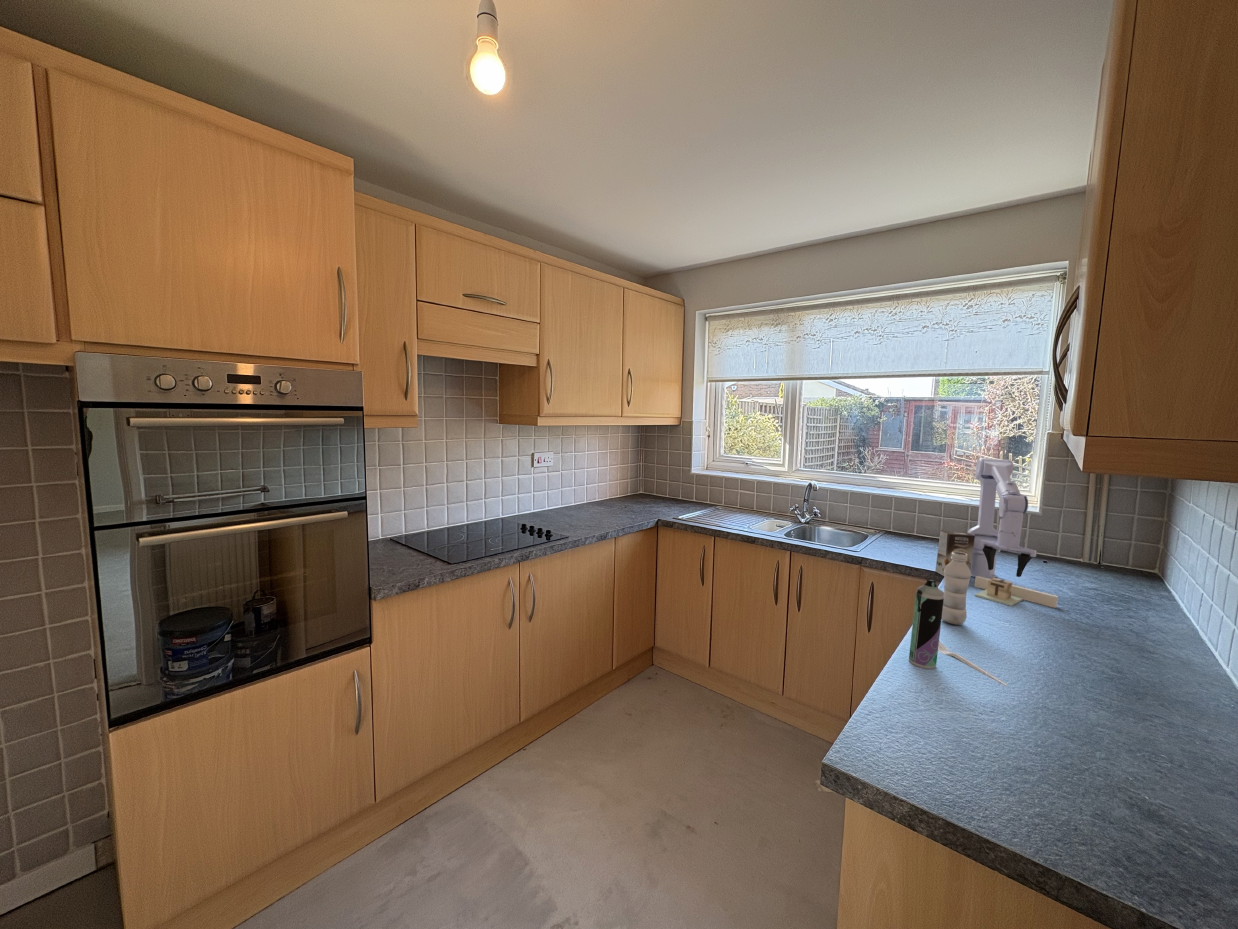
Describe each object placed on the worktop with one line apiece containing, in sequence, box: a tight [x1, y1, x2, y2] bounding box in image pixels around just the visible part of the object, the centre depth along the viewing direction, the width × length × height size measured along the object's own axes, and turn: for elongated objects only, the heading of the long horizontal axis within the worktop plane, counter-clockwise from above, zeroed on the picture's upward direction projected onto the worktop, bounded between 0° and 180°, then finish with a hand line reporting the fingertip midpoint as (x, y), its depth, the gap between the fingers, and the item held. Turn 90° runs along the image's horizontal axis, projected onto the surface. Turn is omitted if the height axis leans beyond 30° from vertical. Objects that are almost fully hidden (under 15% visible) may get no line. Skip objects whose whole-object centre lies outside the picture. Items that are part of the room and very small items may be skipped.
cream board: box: [974, 576, 1059, 609], centre depth 168 cm, size 2×22×4 cm, turn 36°
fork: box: [938, 640, 1009, 687], centre depth 119 cm, size 3×20×2 cm, turn 13°
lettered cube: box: [987, 577, 1014, 600], centre depth 165 cm, size 5×5×5 cm
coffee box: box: [934, 529, 975, 577], centre depth 188 cm, size 9×6×16 cm
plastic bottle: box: [941, 552, 972, 626], centre depth 142 cm, size 6×7×20 cm
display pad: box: [974, 589, 1023, 607], centre depth 165 cm, size 10×10×1 cm
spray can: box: [908, 579, 944, 670], centre depth 117 cm, size 6×6×20 cm
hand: (1004, 572), depth 165 cm, fingers open, 7 cm apart
